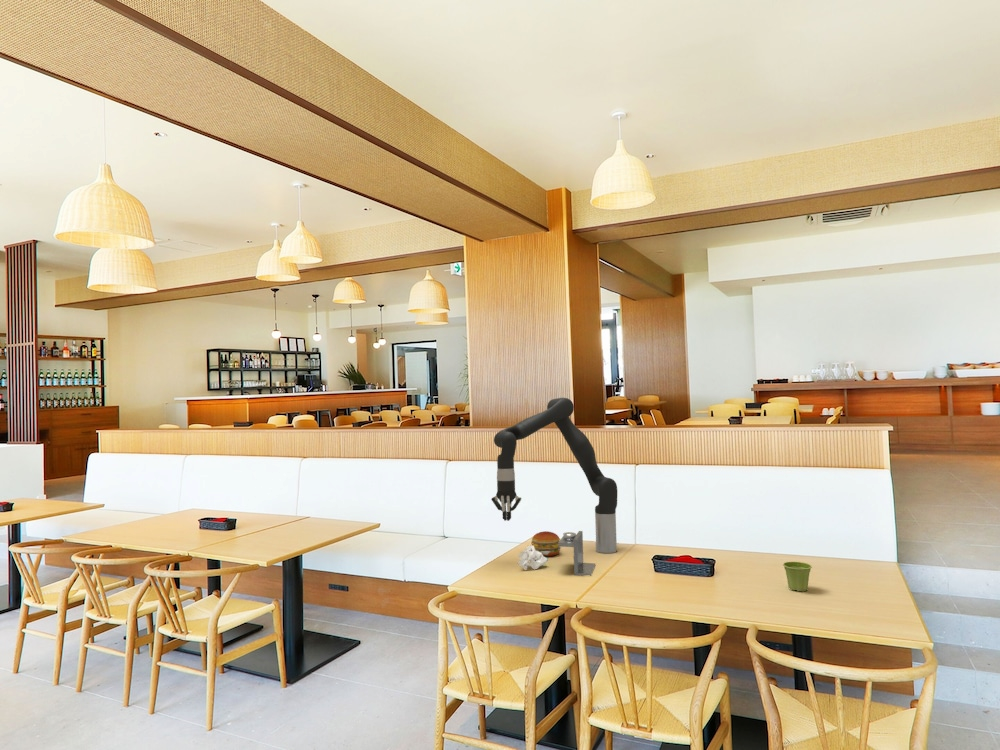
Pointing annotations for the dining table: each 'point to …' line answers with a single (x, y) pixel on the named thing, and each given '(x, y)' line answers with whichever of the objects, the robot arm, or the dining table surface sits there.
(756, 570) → the dining table surface
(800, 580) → the plant pot
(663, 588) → the dining table surface
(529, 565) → the white irregular lump
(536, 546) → the burger
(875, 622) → the dining table surface
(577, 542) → the bracket
